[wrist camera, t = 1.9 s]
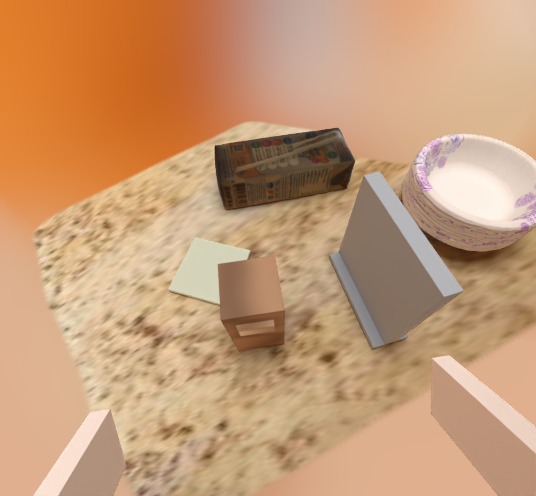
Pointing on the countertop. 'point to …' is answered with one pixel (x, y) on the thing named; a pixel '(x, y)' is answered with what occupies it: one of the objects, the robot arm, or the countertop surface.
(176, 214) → the countertop surface
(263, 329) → the brown tall rectangular block
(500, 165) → the paper bowls
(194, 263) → the sage tile
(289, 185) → the beverage carton
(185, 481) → the countertop surface
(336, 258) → the slate panel
